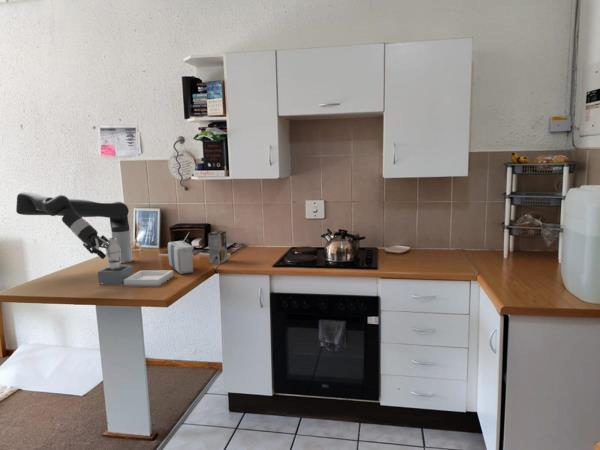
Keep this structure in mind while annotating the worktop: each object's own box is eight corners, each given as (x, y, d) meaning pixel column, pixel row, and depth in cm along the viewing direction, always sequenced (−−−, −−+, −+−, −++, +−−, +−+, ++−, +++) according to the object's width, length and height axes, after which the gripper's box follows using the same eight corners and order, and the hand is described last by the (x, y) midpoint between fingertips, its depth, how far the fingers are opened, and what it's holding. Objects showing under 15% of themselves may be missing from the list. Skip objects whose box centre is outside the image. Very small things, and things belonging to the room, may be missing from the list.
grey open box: (99, 284, 193) (97, 271, 192) (110, 278, 203) (109, 266, 202) (122, 284, 192) (121, 271, 191) (133, 278, 202) (132, 265, 201)
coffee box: (217, 259, 236) (215, 230, 234) (227, 260, 234) (226, 230, 232) (209, 263, 227) (207, 233, 225) (220, 263, 226) (218, 233, 223)
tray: (124, 286, 189) (123, 279, 188) (141, 276, 204) (140, 270, 204) (159, 286, 187) (158, 279, 187) (173, 276, 203) (173, 270, 202)
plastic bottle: (108, 284, 193) (104, 240, 190) (108, 280, 199) (104, 238, 196) (124, 282, 196) (120, 239, 193) (123, 278, 202) (119, 236, 199)
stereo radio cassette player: (168, 267, 223) (165, 229, 220) (184, 264, 227) (181, 227, 224) (178, 275, 205) (175, 234, 202) (195, 273, 209) (192, 232, 206)
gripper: (88, 233, 202) (113, 257, 203) (68, 239, 188) (95, 264, 189) (97, 222, 201) (123, 246, 201) (78, 227, 187) (105, 253, 187)
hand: (109, 255), depth 195 cm, fingers open, 8 cm apart
